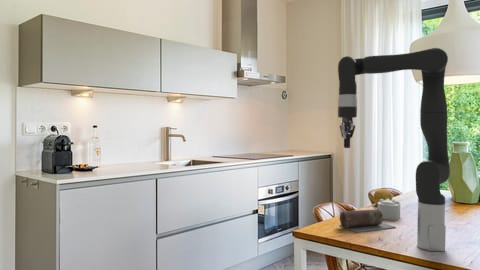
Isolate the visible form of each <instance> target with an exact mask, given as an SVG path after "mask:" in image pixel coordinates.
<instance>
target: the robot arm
mask: <svg viewBox="0 0 480 270" xmlns="http://www.w3.org/2000/svg"><path fill="white" fill-rule="evenodd" d="M448 58H449V57H448V54H447V53H446V51H445V50H443V49H442V48H438V47H432V48H428V49H424V50H419V51H415V52H408V53H397V54H382V55H380V54H379V55H369V56H364V57H362V58H353V57H352V56H343V57H341V59H340V60H339V62H338V65H337V73H338V74H337V75H338V81H339V85H338V100H337V105H338V106H337V118H341V119H342V120H341V123H340V125H339V130H340V135H341V138H342V139H343V148H344V149H349V148H351V139H352V138H353V135H354V133H355V129H356V125H354V120H353V119H354V118H355V119H356V118H357V116H358V98H357V93H358V92H357V87H358V86H357V82H356V76H358V75H359V76H360V75H365V74H366V75H367V74H368V75H369V74H370V75H371V74H374V75H375V74H386V73H393V72H399V71H406V70H407V71H408V70H409V71H410V70H413V71H414V70H415V71H421V79H422V93H421V101H420V110H419V112H420V113H419V115H420V116H419V117H420V119H419V120H420V121H419V124H420V129H421V132H422V135H423V137H424V139H425V141H426V142H425V143H426V144H427V152H428V153H427V155H428V156H427V160H424V161H421V162H420V163H418V165H417V167H416V169H415V193H416V195H417V230H416V231H417V232H416V233H417V237H416V239H417V240H416V241H417V243H416V247H418V248H419V249H422V250H425V251H428V252H446V237H447V236H446V231H447V229H446V224H445V223H446V222H445V221H446V196H445V195H444V194H442V193H441V184H444V183H446V182H447V181H448V180H449V178H450V175H451V173H450V172H451V168H450V167H451V166H450V161H449V160H450V159H449V158H450V157H449V153H448V152H449V151H448V103H447V98H446V97H447V96H446V93H445V92H446V91H445V75H446V74H445V73H446V68H447V65H448V61H449V59H448Z"/></svg>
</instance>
